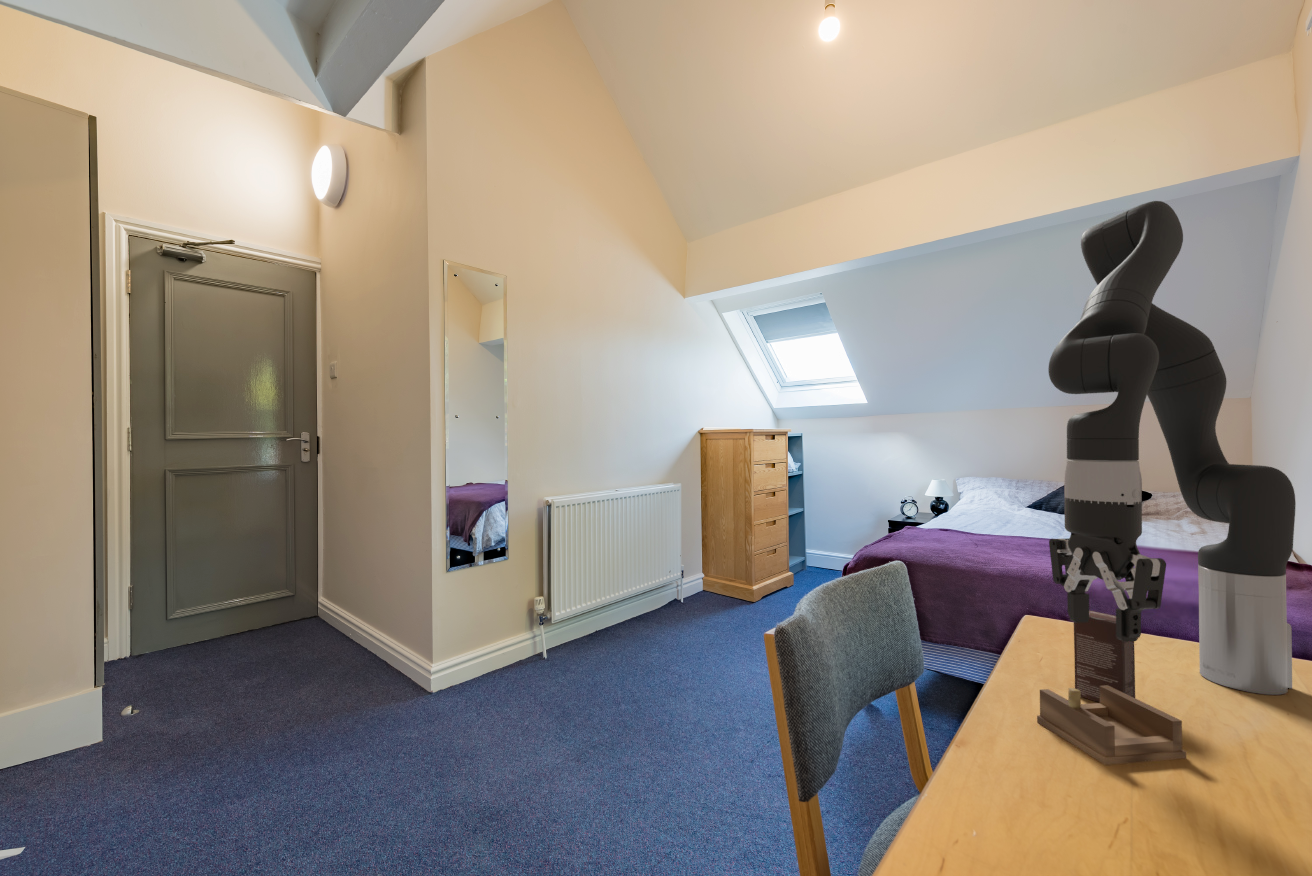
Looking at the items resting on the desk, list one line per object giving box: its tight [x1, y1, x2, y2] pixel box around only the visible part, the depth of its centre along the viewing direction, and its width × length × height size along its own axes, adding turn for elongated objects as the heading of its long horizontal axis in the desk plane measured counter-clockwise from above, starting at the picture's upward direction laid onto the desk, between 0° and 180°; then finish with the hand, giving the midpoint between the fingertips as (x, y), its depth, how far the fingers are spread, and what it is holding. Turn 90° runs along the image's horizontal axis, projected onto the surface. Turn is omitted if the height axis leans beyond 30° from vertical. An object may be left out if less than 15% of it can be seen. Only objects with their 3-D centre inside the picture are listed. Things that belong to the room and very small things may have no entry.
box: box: [1073, 609, 1136, 703], centre depth 79 cm, size 6×4×12 cm
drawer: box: [1036, 685, 1187, 766], centre depth 69 cm, size 10×10×6 cm
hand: (1102, 630), depth 69 cm, fingers open, 6 cm apart
